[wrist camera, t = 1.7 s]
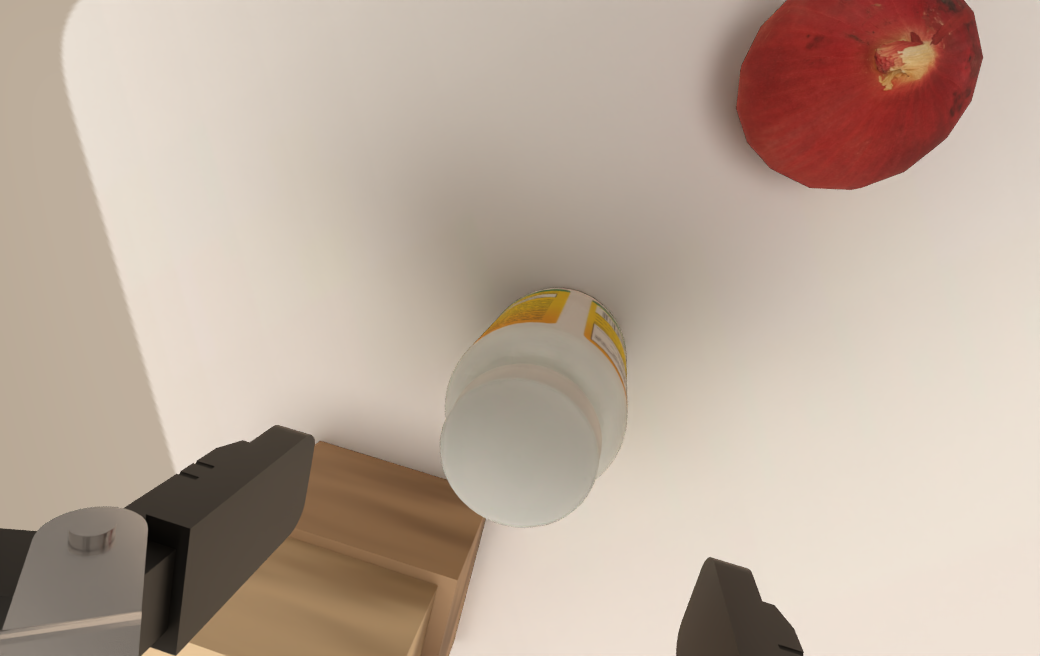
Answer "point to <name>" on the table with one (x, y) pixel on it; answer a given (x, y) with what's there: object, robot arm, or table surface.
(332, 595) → the tower top
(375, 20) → the table surface
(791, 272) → the table surface
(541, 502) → the supplement bottle
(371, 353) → the table surface
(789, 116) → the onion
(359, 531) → the tower base
